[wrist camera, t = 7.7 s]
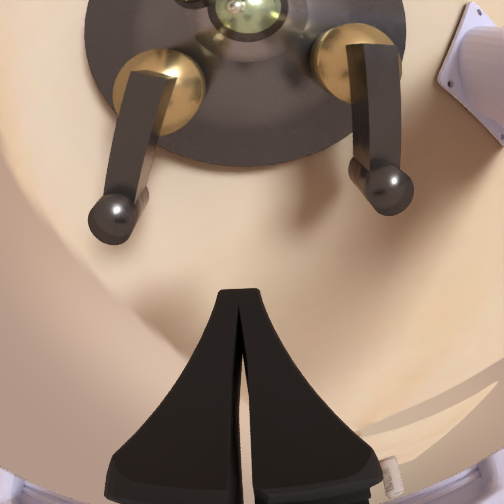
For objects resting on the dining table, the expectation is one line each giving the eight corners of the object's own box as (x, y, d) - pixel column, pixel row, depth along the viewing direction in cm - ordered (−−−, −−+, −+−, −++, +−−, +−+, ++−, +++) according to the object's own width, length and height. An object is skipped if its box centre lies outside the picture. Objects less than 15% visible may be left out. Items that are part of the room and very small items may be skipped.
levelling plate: (431, -20, 10) (457, -25, 7) (325, 200, 19) (338, 222, 17) (162, -115, 5) (152, -135, 3) (63, 120, 15) (38, 132, 12)
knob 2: (304, 26, 12) (334, 11, 8) (381, 28, 12) (433, 23, 7) (320, 177, 17) (347, 221, 13) (386, 171, 17) (429, 210, 13)
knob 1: (139, 43, 12) (98, 38, 8) (218, 62, 13) (209, 60, 9) (104, 186, 17) (67, 231, 12) (169, 205, 18) (149, 256, 13)
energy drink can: (388, 460, 74) (396, 496, 62) (375, 463, 73) (383, 500, 61) (399, 454, 71) (408, 491, 59) (386, 457, 70) (395, 496, 58)
